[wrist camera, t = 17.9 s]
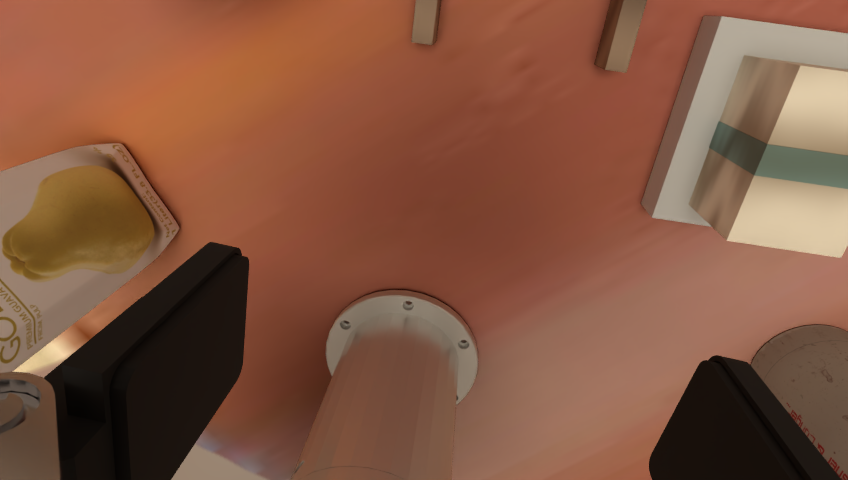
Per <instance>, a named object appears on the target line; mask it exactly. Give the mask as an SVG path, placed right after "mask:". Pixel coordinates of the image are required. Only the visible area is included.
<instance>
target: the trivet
mask: <svg viewBox="0 0 848 480" xmlns="http://www.w3.org/2000/svg"><path fill="white" fill-rule="evenodd" d="M744 55H746V56H754V57H761V58H769V59H776V60H783V61H791V62H798V63H805V64H813V65H820V66H827V67H835V68H842V69H848V34H847V33H840V32H833V31H825V30H818V29H811V28H804V27H796V26H789V25H782V24H774V23H767V22H760V21H752V20H745V19H738V18H731V17H723V16H703V19H702V22H701V25H700V28H699V31H698V34H697V37H696V40H695V43H694V46H693V49H692V52H691V55H690V58H689V61H688V64H687V67H686V70H685V73H684V76H683V79H682V82H681V85H680V88H679V91H678V94H677V97H676V100H675V103H674V106H673V109H672V112H671V115H670V118H669V121H668V124H667V127H666V130H665V133H664V136H663V139H662V142H661V145H660V148H659V151H658V154H657V157H656V160H655V163H654V166H653V169H652V172H651V175H650V178H649V181H648V184H647V187H646V190H645V193H644V196H643V199H642V202H641V205H642V206H643V207H644V208H645V210H646V211H647V212H648V213H649V215H650V216H651V217H652V218H658V219H664V220H671V221H678V222H684V223H691V224H697V225H704V226H710V227H712V226H711V225H710V224H709V223H708V222H707V221H705V220H704V219H703V218H702V217H701V216H700V215H699V214H698V213H697V212H696V211H695V210H694V209H693V208H692V207H691V206H690V205H689V202H690V199H691V196H692V194H693V191H694V188H695V185H696V183H697V180H698V177H699V175H700V172H701V169H702V167H703V164H704V161H705V159H706V156H707V153H708V151H709V146H710V143H711V140H712V137H713V135H714V132H715V129H716V127H717V124H718V121H720V118H721V116H722V113H723V110H724V108H725V105H726V102H727V100H728V97H729V94H730V92H731V89H732V86H733V84H734V81H735V78H736V75H737V73H738V70H739V67H740V65H741V62H742V59H743V57H744Z"/></svg>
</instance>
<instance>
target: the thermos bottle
mask: <svg viewBox="0 0 848 480" xmlns="http://www.w3.org/2000/svg"><path fill="white" fill-rule="evenodd" d="M751 366H752V368H753V369H754V370H755V371H756V373H757V374H758V375H759V377H760V378H761V379H762V380H763V382H764V383H765V384H766V385H767V387H768V388H769V389H770V390H771V392H772V393H773V394H774V395H775V397H776V398H777V399H778V400H779V402H780V403H781V404H782V405H783V407H784V408H785V409H786V410H787V412H788V413H789V414H790V415H791V417H792V418H793V419H794V421H795V422H796V423H797V424H798V426H799V427H800V428H801V429H802V431H803V432H804V433H805V434H806V436H807V437H808V438H809V439H810V441H811V442H812V443H813V444H814V446H815V447H816V448H817V449H818V451H819V452H820V453H821V454H822V456H823V457H824V458H825V459H826V461H827V462H828V463H829V465H830V466H831V467H832V468H833V470H834V471H835V472H836V473H837V475H838V476H839V477H840V478H841V480H848V332H847V331H844V330H842V329H840V328H837V327H833V326H828V325H807V326H802V327H798V328H794V329H791V330H788V331H786V332H783V333H781V334H780V335H778V336H776V337H774V338H773V339H771V340H770V341H769V342H767V343H766V344H765V345H764V346H763V347H762V348H761V349H760V350H759V351H758V353H757V354H756V356H755V357H754V359H753V361H752V364H751Z"/></svg>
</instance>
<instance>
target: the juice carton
mask: <svg viewBox="0 0 848 480" xmlns="http://www.w3.org/2000/svg"><path fill="white" fill-rule="evenodd" d="M178 230H179V226H178V224H177V223H176V221H175V219H174V218H173V216H172V215H171V213H170V212H169V211H168V209H167V208H166V206H165V205H164V204H163V202H162V201H161V200H160V198H159V197H158V195H157V194H156V193H155V191H154V190H153V188H152V187H151V185H150V184H149V182H148V181H147V179H146V178H145V176H144V175H143V173H142V171H141V170H140V168H139V167H138V165H137V164H136V162H135V161H134V159H133V158H132V156H131V155H130V153H129V152H128V151H127V149H126V148H125V147H124V145H123V144H121V143H109V144H96V145H86V146H79V147H74V148H71V149H67V150H63V151H60V152H57V153H54V154H51V155H48V156H45V157H42V158H39V159H36V160H33V161H30V162H27V163H24V164H21V165H18V166H15V167H12V168H9V169H6V170H3V171H1V172H0V373H4V372H12V371H13V370H15V369H16V368H17V367H19V366H20V365H21V364H22V363H24V362H25V361H26V360H28V359H29V358H30V357H32V356H33V355H34V354H35V353H37V352H38V351H39V350H41V349H42V348H43V347H44V346H46V345H47V344H48V343H50V342H51V341H52V340H53V339H55V338H56V337H57V336H59V335H60V334H61V333H62V332H64V331H65V330H66V329H68V328H69V327H70V326H71V325H73V324H74V323H75V322H77V321H78V320H79V319H80V318H82V317H83V316H84V315H86V314H87V313H88V312H89V311H91V310H92V309H93V308H95V307H96V306H97V305H98V304H100V303H101V302H102V301H104V300H105V299H106V298H107V297H109V296H110V295H111V294H113V293H114V292H115V291H116V290H118V289H119V288H120V287H121V286H123V285H124V284H125V283H127V282H128V281H129V280H130V279H132V278H133V277H134V276H136V275H137V274H138V273H139V272H141V271H142V270H143V269H144V268H146V267H147V266H148V265H149V264H150V263H152V262H153V261H154V260H155V259H156V258H157V257H158V256H159V255H160V254H161V253H162V251H163V250H164V249H165V248H166V247H167V245H168V244H169V243H170V242H171V240H172V239H173V238H174V236H175V235H176V234H177V232H178Z"/></svg>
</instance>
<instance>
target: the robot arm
mask: <svg viewBox="0 0 848 480" xmlns="http://www.w3.org/2000/svg"><path fill="white" fill-rule="evenodd" d="M248 273H249V260H248V258H247V257H244V256H242V254H241V250H240V249H239V248H236V247H232V246H227V245H223V244H218V243H214V242H210V243H208V244H207V245H205V246H204V247H203V248H202V249H201V250H199V251H198V252H197V253H196V254H194V255H193V256H192V257H191V258H190V259H188V260H187V261H186V262H185V263H184V264H182V265H181V266H180V267H179V268H178V269H176V270H175V271H174V272H173V273H172V274H170V275H169V276H168V277H167V278H165V279H164V280H163V281H162V282H161V283H159V284H158V285H157V286H156V287H155V288H153V289H152V290H151V291H150V292H149V293H147V294H146V295H145V296H144V297H142V298H140V299H139V300H138V301H136V302H135V303H134V304H133V305H131V306H130V307H129V308H128V309H127V310H125V311H124V312H123V313H122V314H121V315H119V316H118V317H117V318H116V319H115V320H113V321H112V322H111V323H110V324H108V325H107V326H106V327H105V328H104V329H102V330H101V331H100V332H99V333H98V334H96V335H95V336H94V337H93V338H91V339H90V340H89V341H88V342H87V343H85V344H84V345H83V346H82V347H81V348H79V349H78V350H77V351H76V352H74V353H73V354H72V355H71V356H70V357H68V358H67V359H66V360H65V361H64V362H62V363H61V364H60V365H59V366H57V367H56V368H55V369H54V370H53V371H51V372H50V373H49V374H48V375H47V376H45V377H44V378H43V377H40V376H37V375H34V374H30V373H23V372H4V373H0V480H171V479H172V477H173V476H174V474H175V473H176V471H177V470H178V468H179V467H180V465H181V463H182V462H183V461H184V459H185V458H186V456H187V455H188V453H189V452H190V450H191V449H192V447H193V446H194V444H195V443H196V441H197V440H198V438H199V437H200V435H201V434H202V432H203V431H204V429H205V428H206V426H207V425H208V423H209V422H210V420H211V419H212V417H213V416H214V414H215V413H216V411H217V410H218V408H219V407H220V405H221V404H222V402H223V401H224V399H225V398H226V396H227V395H228V393H229V392H230V390H231V389H232V387H233V386H234V384H235V383H236V381H237V379H238V377H239V375H240V372H241V369H242V365H243V353H244V337H245V321H246V305H247V289H248ZM408 301H410V302H408ZM326 360H327V366H328V368H329V371H330V373H331V376H332V378H331V381H330V383H329V386H328V388H327V391H326V393H325V396H324V398H323V401H322V403H321V406H320V408H319V411H318V413H317V416H316V418H315V421H314V423H313V425H312V428H311V430H310V433H309V435H308V438H307V440H306V443H305V445H304V448H303V450H302V453H301V455H300V458H299V460H298V463H297V465H296V468H295V470H294V473H293V475H292V478H291V480H451V479H452V463H453V447H454V431H455V414H456V405H457V404H459V403H460V402H461V401H462V400H463V399H464V398H465V397H466V396H467V394H468V393H469V391H470V389H471V388H472V386H473V384H474V381H475V378H476V376H477V369H478V350H477V346H476V342H475V338H474V336H473V334H472V332H471V330H470V328H469V327H468V325H467V324H466V323H465V322H464V320H463V319H462V318H461V317H460V316H459V315H458V314H457V313H456V312H455V311H454V310H452V309H451V308H450V307H449V306H447V305H446V304H444V303H442V302H440V301H439V300H437V299H435V298H432V297H430V296H427V295H424V294H422V293H417V292H412V291H407V290H387V291H380V292H375V293H372V294H369V295H366V296H363V297H361V298H359V299H358V300H356V301H354V302H352V303H351V304H350V305H349V306H347V307H346V308H345V309H344V310H343V311H342V312H341V313H340V314H339V316H338V317H337V319H336V320H335V321H334V324H333V326H332V328H331V330H330V332H329V335H328V338H327V342H326ZM649 471H650V475H651V478H652V480H841V478H840V477H839V476H838V475H837V473H836V472H835V471H834V470H833V468H832V467H831V466H830V465H829V463H828V462H827V461H826V459H825V458H824V457H823V456H822V454H821V453H820V452H819V451H818V449H817V448H816V447H815V446H814V444H813V443H812V442H811V441H810V439H809V438H808V437H807V436H806V434H805V433H804V432H803V431H802V429H801V428H800V427H799V426H798V424H797V423H796V422H795V421H794V419H793V418H792V417H791V415H790V414H789V413H788V412H787V410H786V409H785V408H784V407H783V405H782V404H781V403H780V402H779V400H778V399H777V398H776V397H775V395H774V394H773V393H772V392H771V390H770V389H769V388H768V387H767V385H766V384H765V383H764V382H763V380H762V379H761V378H760V377H759V375H758V374H757V373H756V371H755V370H754V369H753V368H752V366H751V365H750V364H748V363H747V362H744V361H740V360H735V359H731V358H727V357H722V356H718V355H716V356H713V357H711V358H710V359H709V360H708V361H707V360H705V361H702V362H701V363H700V364H699V366H698V367H697V369H696V371H695V373H694V375H693V377H692V379H691V380H690V382H689V384H688V386H687V388H686V390H685V392H684V394H683V396H682V397H681V399H680V401H679V403H678V405H677V407H676V409H675V411H674V413H673V414H672V416H671V418H670V420H669V422H668V424H667V426H666V428H665V430H664V431H663V433H662V435H661V437H660V439H659V441H658V443H657V445H656V446H655V448H654V450H653V452H652V454H651V457H650V461H649Z"/></svg>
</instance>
